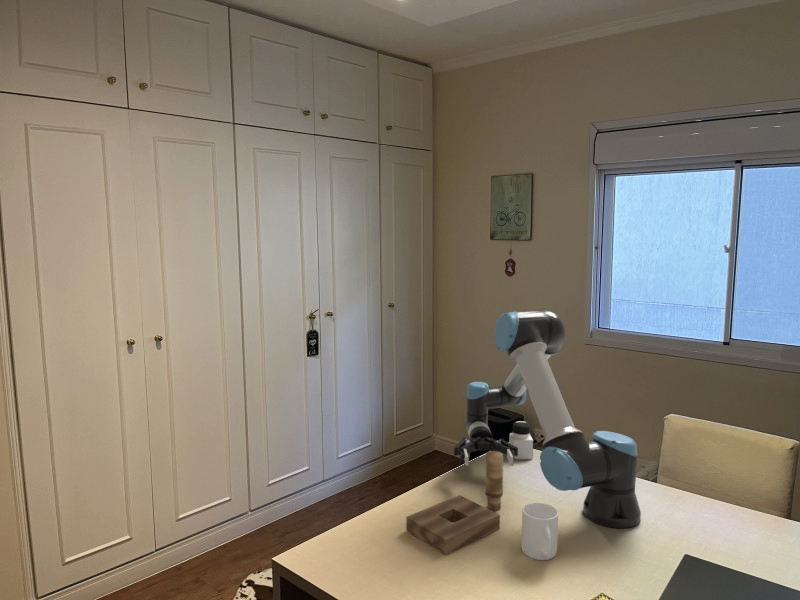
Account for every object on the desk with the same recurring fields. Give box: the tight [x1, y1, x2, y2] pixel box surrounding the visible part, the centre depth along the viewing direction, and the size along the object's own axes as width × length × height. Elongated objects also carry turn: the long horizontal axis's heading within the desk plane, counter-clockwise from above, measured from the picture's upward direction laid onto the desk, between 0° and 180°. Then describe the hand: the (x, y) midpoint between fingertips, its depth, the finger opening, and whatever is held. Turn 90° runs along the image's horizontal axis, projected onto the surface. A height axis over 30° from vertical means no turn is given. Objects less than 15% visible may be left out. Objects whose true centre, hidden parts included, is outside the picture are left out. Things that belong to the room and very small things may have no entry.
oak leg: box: [485, 450, 504, 512], centre depth 167 cm, size 5×5×16 cm
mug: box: [521, 502, 559, 561], centre depth 142 cm, size 9×12×11 cm
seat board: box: [405, 494, 501, 556], centre depth 155 cm, size 15×20×4 cm
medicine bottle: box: [508, 420, 534, 460], centre depth 206 cm, size 7×7×12 cm
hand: (489, 461), depth 176 cm, fingers open, 13 cm apart
